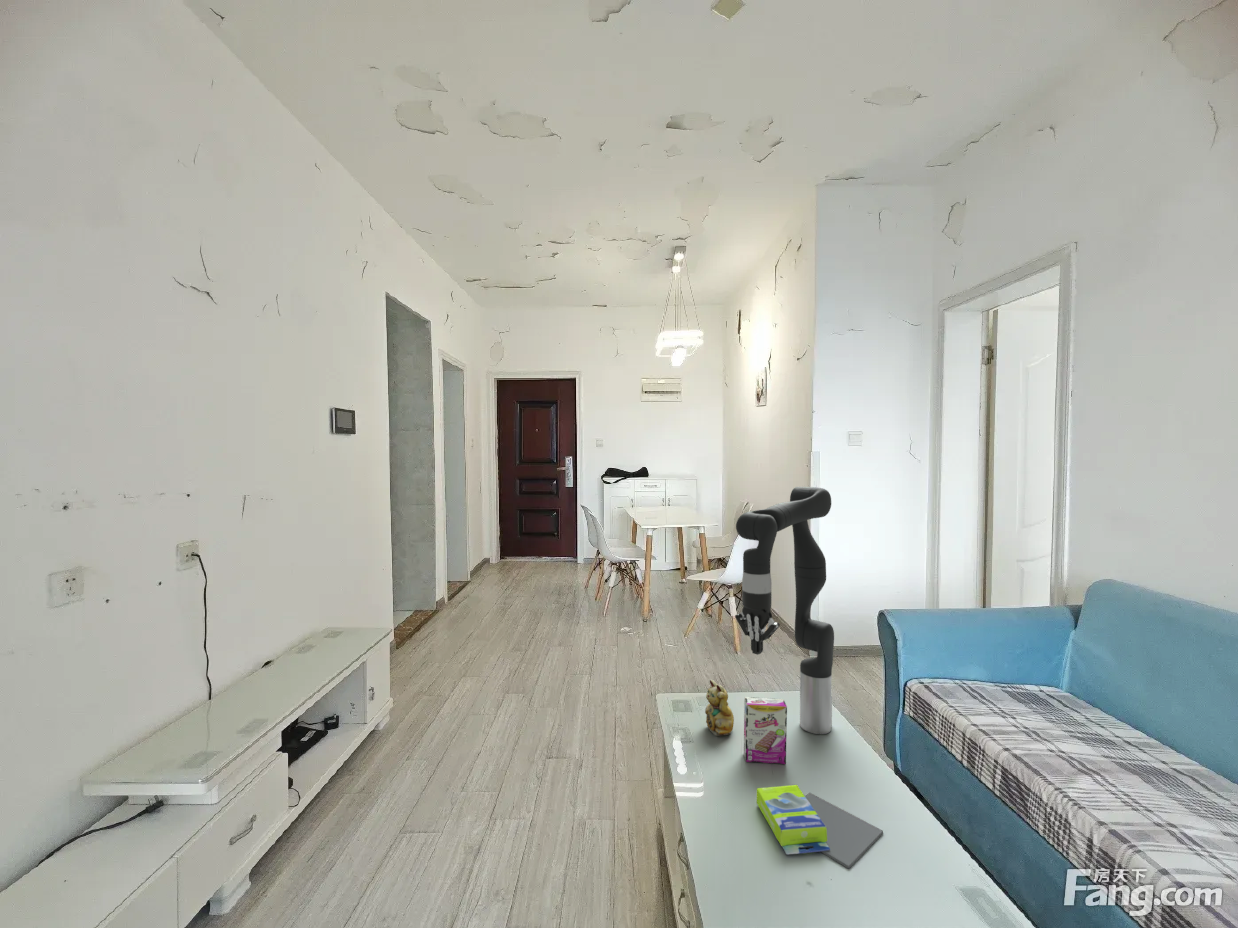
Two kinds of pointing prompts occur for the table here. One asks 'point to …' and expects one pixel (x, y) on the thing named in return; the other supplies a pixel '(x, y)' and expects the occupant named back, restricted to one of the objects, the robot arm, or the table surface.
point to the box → (792, 819)
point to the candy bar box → (765, 730)
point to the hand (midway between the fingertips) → (756, 653)
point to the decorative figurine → (718, 711)
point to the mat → (844, 832)
